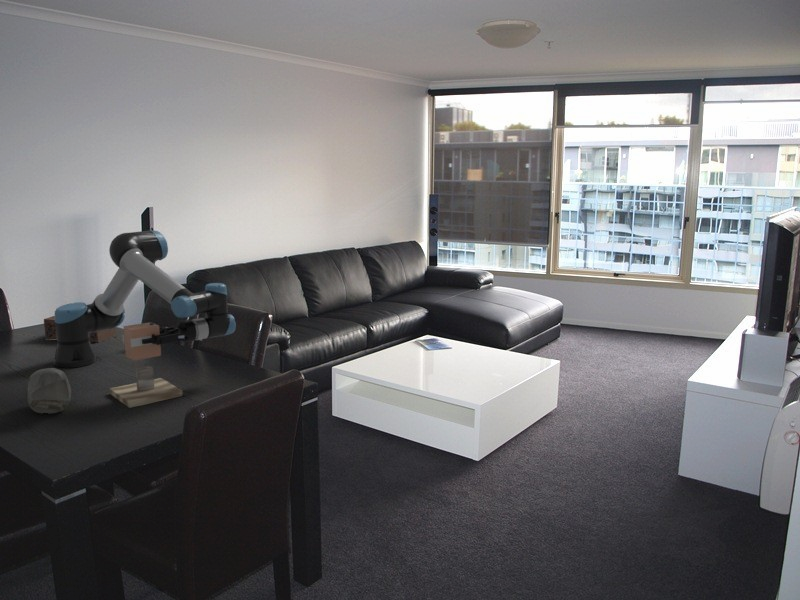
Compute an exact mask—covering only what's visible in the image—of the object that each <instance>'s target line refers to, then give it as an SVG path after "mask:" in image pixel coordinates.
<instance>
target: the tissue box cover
mask: <svg viewBox="0 0 800 600" xmlns="http://www.w3.org/2000/svg"><path fill="white" fill-rule="evenodd" d="M54 319H55V315H53V316H50V317H46V318H44V319H43V327H44V335H45V337H44V338H45V340H46V339H57V336H56V326H55V321H54ZM114 335H116V336H118V335H117V327H115V328H113V329H107V330H102V331H98V332H94V333H90V334H89V338H90V343H91V342H99V341H102V340H104V339H106V340H108V339H107V338H109V337H111V336H113V337H115V336H114ZM111 338H112V337H111ZM109 339H110V338H109ZM104 341H105V340H104ZM102 342H103V341H102ZM99 343H100V342H99Z"/></svg>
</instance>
